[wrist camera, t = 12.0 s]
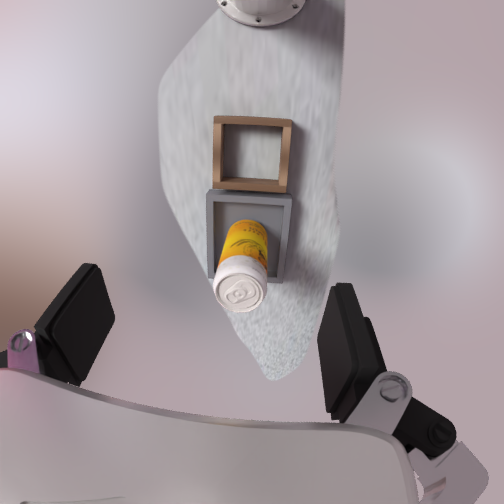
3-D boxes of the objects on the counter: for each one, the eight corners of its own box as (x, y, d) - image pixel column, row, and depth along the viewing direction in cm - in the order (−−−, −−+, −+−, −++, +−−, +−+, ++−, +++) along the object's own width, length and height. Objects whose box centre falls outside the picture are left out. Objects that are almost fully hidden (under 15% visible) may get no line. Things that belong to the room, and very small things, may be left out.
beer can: (275, 239, 45) (277, 299, 31) (244, 259, 46) (235, 323, 33) (251, 209, 42) (243, 260, 29) (219, 231, 44) (200, 288, 31)
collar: (217, 115, 37) (213, 116, 34) (290, 119, 36) (292, 120, 34) (216, 183, 41) (212, 188, 39) (284, 187, 41) (286, 192, 38)
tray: (209, 189, 42) (206, 194, 40) (290, 194, 42) (292, 199, 39) (210, 270, 48) (208, 278, 46) (281, 274, 48) (282, 283, 46)
